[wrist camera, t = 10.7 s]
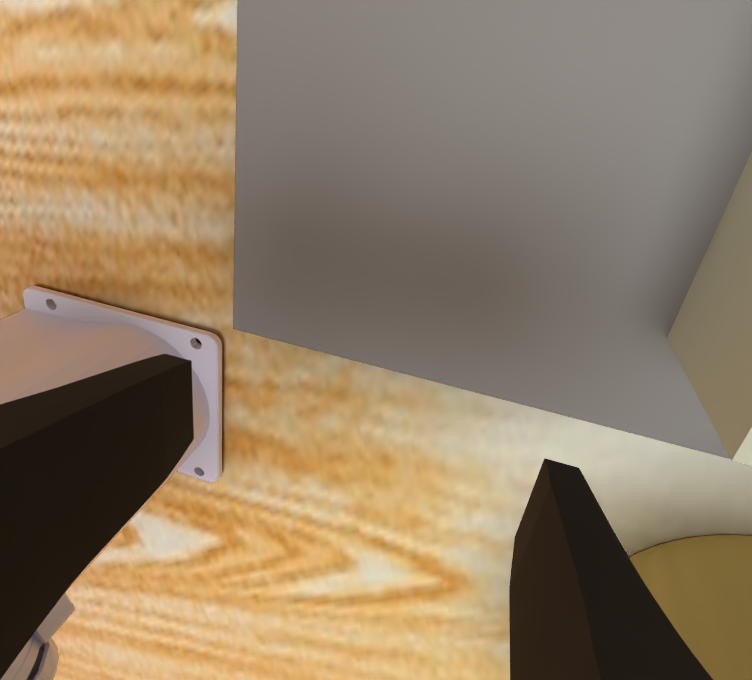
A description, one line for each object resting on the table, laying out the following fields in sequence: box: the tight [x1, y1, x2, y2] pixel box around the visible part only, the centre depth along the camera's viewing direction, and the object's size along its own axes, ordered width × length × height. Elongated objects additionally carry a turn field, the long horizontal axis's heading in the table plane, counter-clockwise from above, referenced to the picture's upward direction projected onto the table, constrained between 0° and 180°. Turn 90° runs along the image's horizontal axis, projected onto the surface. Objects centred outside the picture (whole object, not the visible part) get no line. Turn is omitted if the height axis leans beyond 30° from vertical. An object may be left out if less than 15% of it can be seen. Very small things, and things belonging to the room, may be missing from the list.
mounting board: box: [233, 0, 752, 459], centre depth 15 cm, size 22×18×1 cm
